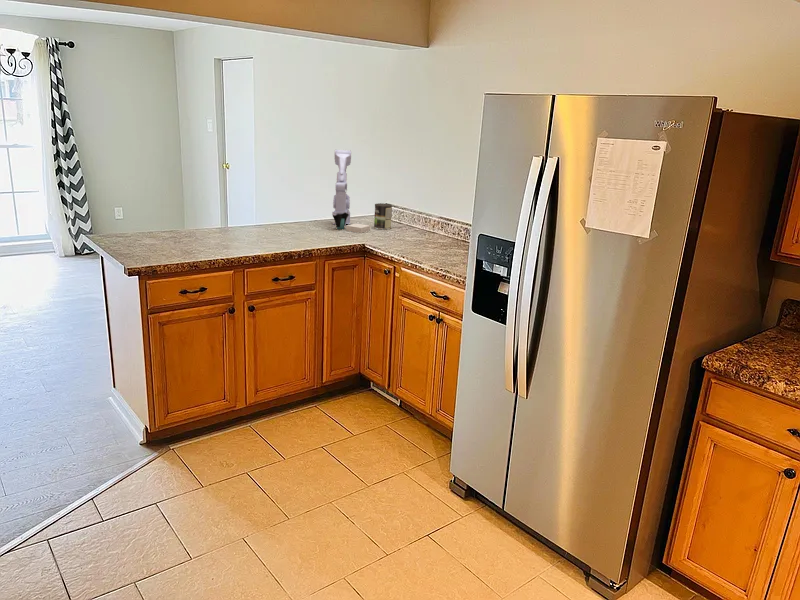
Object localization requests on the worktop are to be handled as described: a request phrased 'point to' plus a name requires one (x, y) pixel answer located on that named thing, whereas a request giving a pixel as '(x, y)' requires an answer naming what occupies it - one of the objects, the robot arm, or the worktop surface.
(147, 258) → the worktop surface
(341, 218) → the teal cylinder
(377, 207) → the coffee can
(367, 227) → the plinth
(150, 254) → the worktop surface
